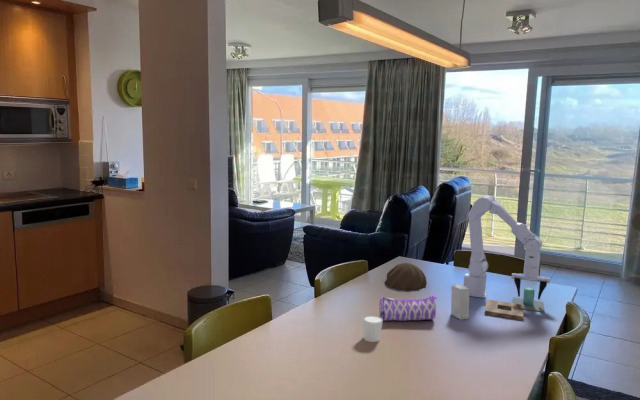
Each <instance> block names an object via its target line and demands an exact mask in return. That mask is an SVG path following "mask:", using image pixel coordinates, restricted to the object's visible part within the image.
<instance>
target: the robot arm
mask: <svg viewBox="0 0 640 400" xmlns="http://www.w3.org/2000/svg"><path fill="white" fill-rule="evenodd" d="M488 211H489V212H488ZM487 212H488V213H489V214H493V215H497V216H498V217H499V218H500V219H501V220H502V221H503V222H504V223H506V224H507V225H508V226H509V227H510V228H511V229H510V231H511V233H512V235H513V236H515V237H516V238H517V240H519V241H520V242H521V244H524V249H525V254H524V263H523V264H524V265H523V273H515V272H514V273H511V279H512V280H513V282H514V285H515V287H516V289H517V298H520V297H521V281H528V282H529V281H531V282H537V283H539V287H538V294H537V300H538V301H541V297H542V294H543V292H544V290H545V289H546V288H547V285H548V284H550V283H551V278H550V277H547V276H543V275H542V276H541V275H539V273H540V272H539V271H540V263H541V262H540V261H541V248H542V246H543V241H542V238H541V237H539V236H538V235H536V233H533V232H532V231H531V230H530V229H529V228H528V225H527V224H526V223H525V224H524V223H523V222H518V221H517V220H516V219H515V218H514V217H513V216H512V215H511V214H510V213H509V212H508V210H507V209H506V208H505V207H504V205H502V204H501V203H500V201H498V200H497V199H496V198H495V197H494V196H492V195H484V196H481V197H479V198H478V199H476V200H475V201H474V202H473V205H472V207H471V208H470V210H469V212H468V214H467V215H468V228H469V238H470V239H469V240H470V251H471V252H470V253H471V255H470V257H469V258H470V259H469V264H468V265H469V266H468V272H469V273H464V276H463V286H465V287H467V288H469V289H470V291H469V297H476V298H483V299H486V297H487V291H486V290H487V287H486V286H487V272H486V271H488V269H489V263H488V261H487V258H486V254H485V253H484V242H483V241H484V240H483V230H482V228H483V227H482V219H481V218H482V217H483V216H484V215H485V214H486V213H487Z"/></svg>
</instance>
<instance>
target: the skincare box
mask: <svg viewBox="0 0 640 400" xmlns="http://www.w3.org/2000/svg"><path fill="white" fill-rule="evenodd" d="M469 291H470V289H469V288H467V287H465V286H464V284H460V283H458V284H452V285H451V294H450V295H451V296H450V297H451V298H450V299H451V300H450V315H451V316H454V317H455V318H456V319H459V320H460V321H461V320H468V319H469V317H470V316H469V314H470V311H469V310H470V308H469V307H470V296H469Z"/></svg>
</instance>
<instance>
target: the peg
mask: <svg viewBox="0 0 640 400" xmlns="http://www.w3.org/2000/svg"><path fill="white" fill-rule="evenodd" d="M522 299H523V304H524V305H527V306H533V304H534V301H535V288H532V287H524V288H523V298H522Z"/></svg>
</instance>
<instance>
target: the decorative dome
mask: <svg viewBox="0 0 640 400" xmlns="http://www.w3.org/2000/svg"><path fill="white" fill-rule="evenodd" d="M384 283H385V284H386V285H388V286H389V287H390V288H395V289H399V290H402V291H404V290H406V291H407V290H410V291H411V290H412V291H417V290H419V289H426V288H427V284H428V283H427V277H426V275H425V273H424V272H423V270H422V269H421V268H420V267H418V266H416V265H415V264H413V263H409V262H402V263H398V264H396V265H395V266H394V267H392V268H391V269H390V270H389V271H388V272H387V274H386V280H385V281H384Z"/></svg>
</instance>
